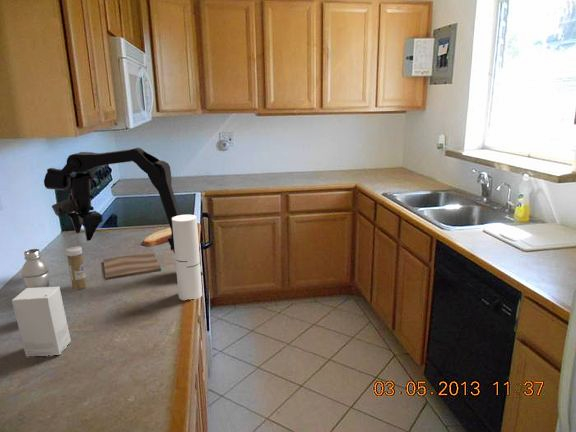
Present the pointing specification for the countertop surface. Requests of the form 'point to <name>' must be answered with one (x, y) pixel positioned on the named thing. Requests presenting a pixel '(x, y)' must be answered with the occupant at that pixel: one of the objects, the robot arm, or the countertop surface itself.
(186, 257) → the cylindrical container
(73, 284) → the sprinkles bottle
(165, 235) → the slice of bread
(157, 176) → the robot arm
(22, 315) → the skincare box
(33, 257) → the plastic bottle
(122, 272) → the walnut board
